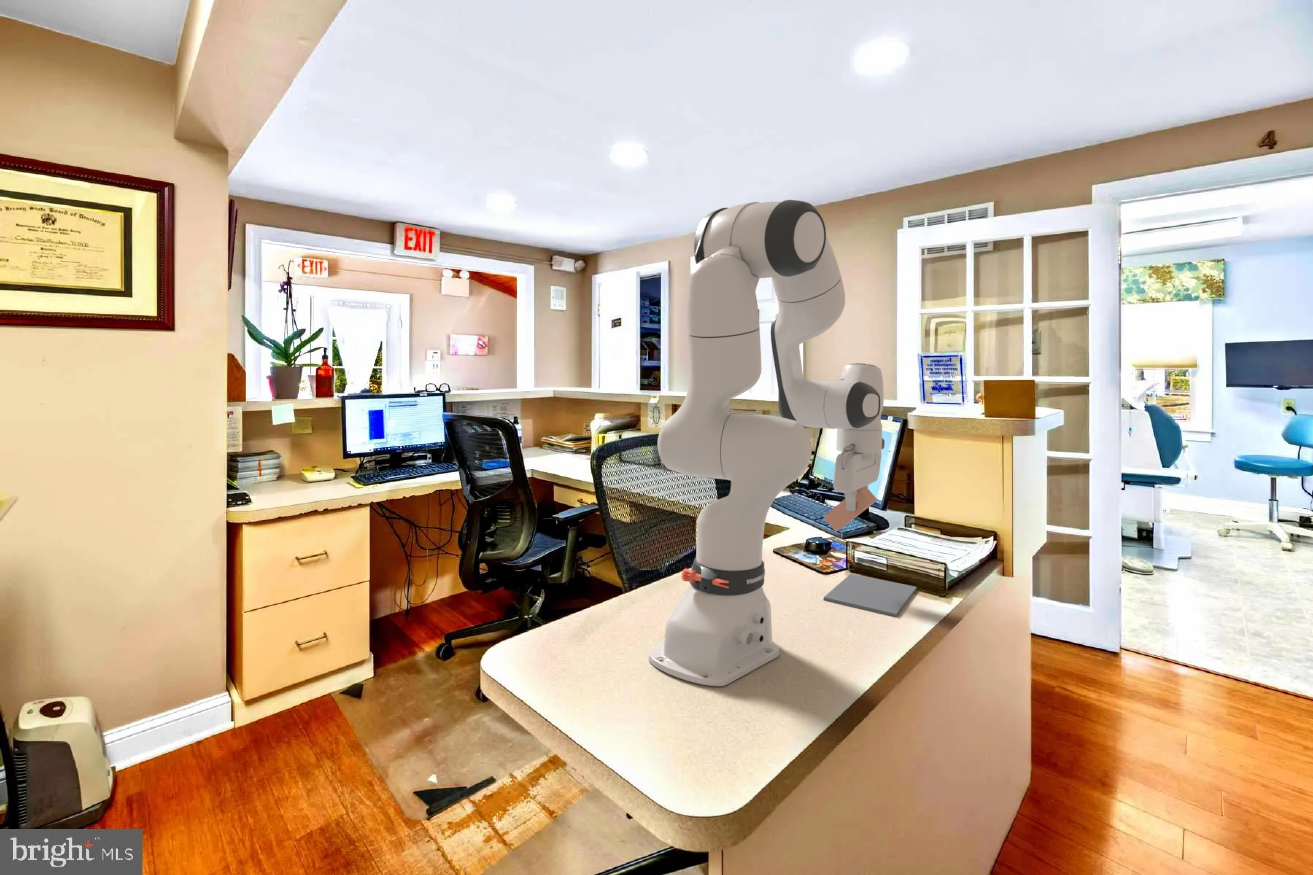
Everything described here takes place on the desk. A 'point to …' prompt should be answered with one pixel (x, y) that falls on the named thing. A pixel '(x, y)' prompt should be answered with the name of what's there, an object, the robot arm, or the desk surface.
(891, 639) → the desk surface
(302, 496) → the desk surface
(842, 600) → the mat
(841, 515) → the block
